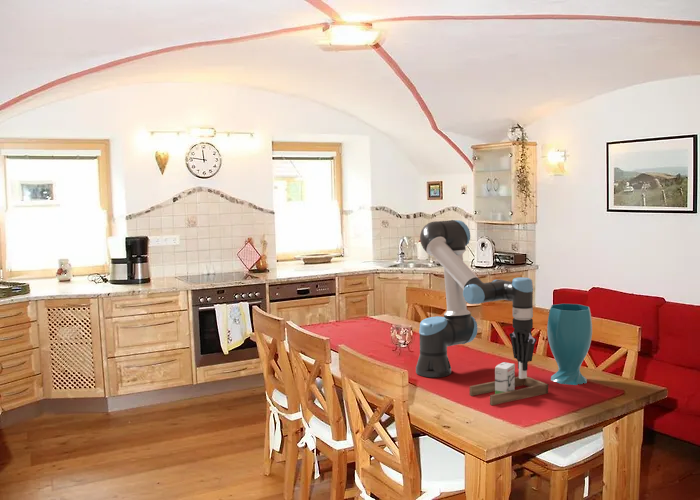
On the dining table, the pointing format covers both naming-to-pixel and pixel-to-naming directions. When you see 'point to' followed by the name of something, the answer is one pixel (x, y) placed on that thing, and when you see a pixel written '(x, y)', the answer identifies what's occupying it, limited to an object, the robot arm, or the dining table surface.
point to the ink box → (504, 377)
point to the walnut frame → (532, 390)
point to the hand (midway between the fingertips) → (522, 378)
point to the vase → (569, 340)
